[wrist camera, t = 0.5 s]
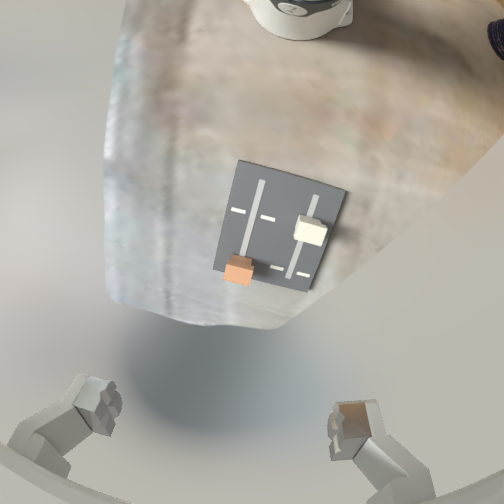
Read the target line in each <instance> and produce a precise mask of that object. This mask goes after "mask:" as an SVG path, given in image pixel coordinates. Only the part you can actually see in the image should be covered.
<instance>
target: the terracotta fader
mask: <svg viewBox="0 0 504 504" xmlns="http://www.w3.org/2000/svg"><path fill="white" fill-rule="evenodd" d="M251 263H252V259H250V258H246V257H242V256H239V255H235V254H232V255H231V259H230V260H228V261H227V264H226V268H225V273H224V277H223V280H226V281H230V282H234V283H238V284H242V285H246V286H249V284H250V280H251V277H252V274H253V269H254V266H251Z"/></svg>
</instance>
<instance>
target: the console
mask: <svg viewBox="0 0 504 504" xmlns="http://www.w3.org/2000/svg"><path fill="white" fill-rule="evenodd" d="M344 195H345V191H344V190H343V189H340V188H337V187H334V186H331V185H328V184H325V183H322V182H318V181H315V180H312V179H308V178H305V177H302V176H298V175H295V174H291V173H288V172H284V171H281V170H277V169H273V168H270V167H266V166H262V165H258V164H254V163H251V162H247V161H243V160H238V163H237V167H236V171H235V175H234V179H233V183H232V188H231V192H230V196H229V200H228V204H227V208H226V213H225V217H224V221H223V226H222V230H221V234H220V239H219V243H218V248H217V252H216V256H215V261H214V266H213V270H217V271H221V272H225V268H226V264H227V261H228V260H230V259H231V255H232V254H235V255H239V256H242V257H246V258H250V259H252V263H251V266H254V269H253V274H252V277H251V279H253V280H257V281H261V282H265V283H270V284H274V285H278V286H282V287H286V288H290V289H295V290H299V291H303V292H308V289H309V287H310V285H311V282H312V280H313V277H314V275H315V272H316V270H317V267H318V265H319V262H320V260H321V257H322V254H323V252H324V249H325V247H326V244H327V241H328V239H329V236H330V233H331V231H332V228H333V225H334V223H335V220H336V217H337V214H338V212H339V209H340V206H341V203H342V200H343V198H344ZM299 214H301V215H304V216H308V217H311V218H315V219H318V220H320V221H321V224H323V225H326V227H327V232H326V235H325V237H324V240H323V243H322V245H321V246H318V245H314V244H310V243H307V242H303V241H299V240H295V239H294V236H293V235H294V232H295V226H296V223H297V220H298V216H299Z"/></svg>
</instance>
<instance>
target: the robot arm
mask: <svg viewBox="0 0 504 504" xmlns="http://www.w3.org/2000/svg"><path fill="white" fill-rule="evenodd" d="M243 1H244V2H245V3H246V4H248V5H249V7H250V8H251V10H252V12H253V15H254V17H255V18H256V20H257V21H258V22H259V23H260V25H262V26H263V27H264V28H265V29H266V30H268V31H269V32H271V33H273V34H275V35H277V36H279V37H282V38H286V39H291V40H310V39H314V38H318V37H320V36H322V35H324V34H326V33H328V32H329V31H330V30H332V29H334V28H337V27H343V26H348V25H350V24H351V23H352V21H353V0H243ZM346 13H347V14H346ZM115 389H116V385H115V383H114V382H113V381H109V380H105V379H101V378H97V377H94V376H91V375H87V374H84V373H79V374H78V375H77V376H76V378H75V379H74V381H73V383H72V384H71V386H70V388H69V389H68V391H67V393H66V395H65V396H64V398H63V400H62V402H61V401H57V402H56V403H54V404H52V405H51V406H49V407H47V408H45V409H43V410H42V411H40V412H38V413H36V414H35V415H33V416H31V417H29V418H27V419H26V420H24V421H22V422H20V423H19V424H18V426H17V428H16V430H15V431H14V433H13V435H12V437H11V439H10V440H9V442H8V444H7V446H6V445H4V444H3V443H1V442H0V504H134V503H130V502H127V501H124V500H121V499H118V498H114V497H112V496H109V495H106V494H103V493H101V492H98V491H95V490H92V489H90V488H87V487H85V486H83V485H80V484H78V483H75V482H73V481H71V480H69V479H67V476H68V474H69V471H70V469H71V465H70V464H69V462H68V461H67V460H65V458H64V457H63V456H64V455H65V454H66V453H68V452H69V451H70V450H72V449H73V448H74V447H75V446H77V445H78V444H79V443H80V442H82V441H83V440H84V439H85V438H86V437H88V436H89V435H90V434H92V432H95V433H99V434H102V435H106V436H111V434H112V432H113V429H114V427H115V421H114V418H116V417H117V416H119V414H120V412H121V409H122V398H121V396H120V394H119V393H118V392H117V391H116V390H115ZM333 411H334V412H333V413H331V414H330V416H329V419H328V425H327V429H328V437H329V438H330V439H331V440H332V442H331V444H330V446H329V448H330V457H331V461H336V460H351V459H353V461H354V463H355V464H356V465H357V467H358V468H359V469H360V470H361V471H362V472H363V474H364V475H365V476H366V477H367V478H368V480H369V481H370V482H371V483H372V484H373V486H374V487H375V488H376V489H377V490H378V492H377V493H376V494H375V495H373V496H372V497H371V498H369V500H368V501H367V504H504V469H503V470H500V471H498V472H496V473H494V474H492V475H490V476H488V477H486V478H484V479H482V480H479V481H477V482H475V483H473V484H471V485H468V486H466V487H463V488H461V489H458V490H456V491H453V492H451V493H448V494H445V495H443V496H440V497H437V498H436V495H435V491H434V487H433V483H432V479H431V475H430V471H429V469H428V468H427V467H426V466H424V465H423V464H422V463H421V462H420V461H419V460H418V459H417V458H415V457H414V456H413V455H412V454H411V453H410V452H409V451H408V450H406V449H405V448H404V447H403V446H402V445H401V444H400V443H399V442H397V441H396V440H395V439H394V438H393V437H392V436H391V435H386V432H385V429H384V425H383V421H382V417H381V413H380V410H379V406H378V403H377V401H376V400H364V401H362V400H358V401H346V402H336V403H335V404H334V406H333Z"/></svg>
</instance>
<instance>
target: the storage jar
mask: <svg viewBox="0 0 504 504" xmlns="http://www.w3.org/2000/svg"><path fill="white" fill-rule="evenodd" d="M487 32H488V38H489V41H490V44H491V46H492V48H493V49H494V51H495V53H496V54H497V55H498V56H499V57H500V58H501V59H502V60H503V61H504V19H499V20H497V21H494V22H491V23H490V24H489V25H488V30H487Z"/></svg>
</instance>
